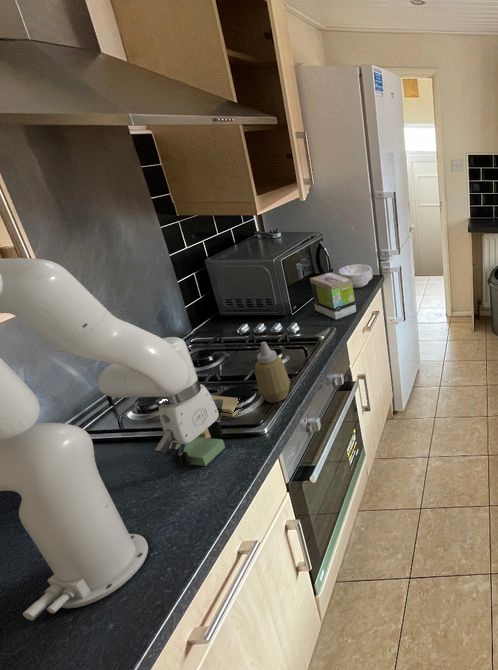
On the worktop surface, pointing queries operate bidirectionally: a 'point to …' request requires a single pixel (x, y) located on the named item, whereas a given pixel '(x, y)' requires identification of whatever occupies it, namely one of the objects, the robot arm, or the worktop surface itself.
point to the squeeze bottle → (271, 375)
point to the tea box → (333, 295)
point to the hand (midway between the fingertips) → (201, 449)
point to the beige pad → (227, 406)
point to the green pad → (203, 450)
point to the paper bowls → (357, 274)
